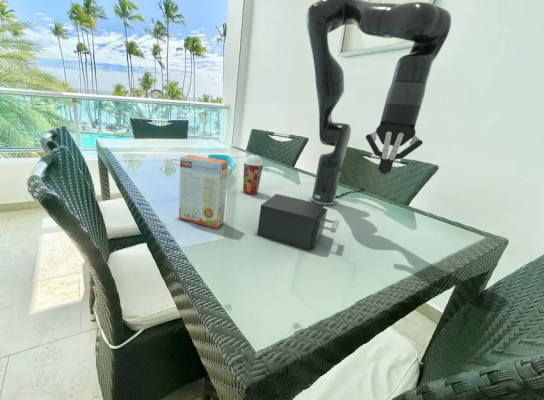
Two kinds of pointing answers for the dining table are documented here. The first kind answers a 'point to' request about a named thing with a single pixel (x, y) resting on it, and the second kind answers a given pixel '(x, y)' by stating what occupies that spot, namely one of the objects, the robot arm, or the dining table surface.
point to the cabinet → (289, 220)
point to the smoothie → (252, 173)
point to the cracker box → (202, 190)
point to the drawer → (322, 227)
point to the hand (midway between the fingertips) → (383, 173)
